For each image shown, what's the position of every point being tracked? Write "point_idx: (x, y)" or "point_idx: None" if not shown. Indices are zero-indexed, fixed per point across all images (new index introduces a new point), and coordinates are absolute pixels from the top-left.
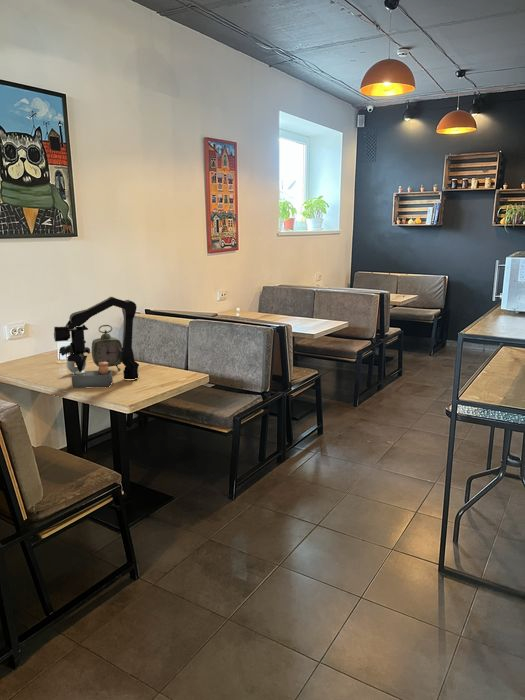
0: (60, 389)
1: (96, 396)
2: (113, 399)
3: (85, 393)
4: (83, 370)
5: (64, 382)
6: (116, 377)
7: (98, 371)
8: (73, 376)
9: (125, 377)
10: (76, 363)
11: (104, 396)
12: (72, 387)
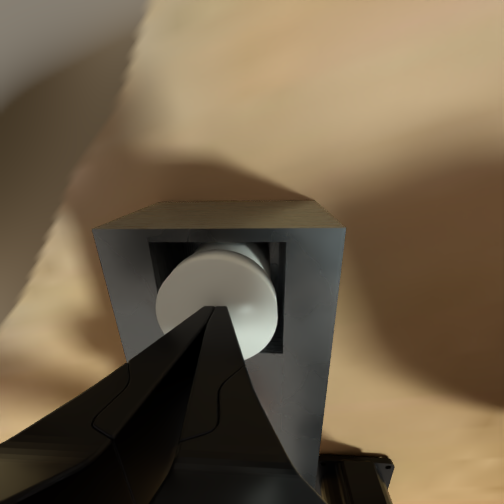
0: (117, 105)
1: (24, 372)
2: (5, 436)
3: (59, 313)
4: (266, 341)
5: (355, 62)
6: (411, 416)
7: (289, 437)
8: (102, 250)
9: (338, 475)
10: (68, 415)
11: (35, 403)
12: (157, 204)
